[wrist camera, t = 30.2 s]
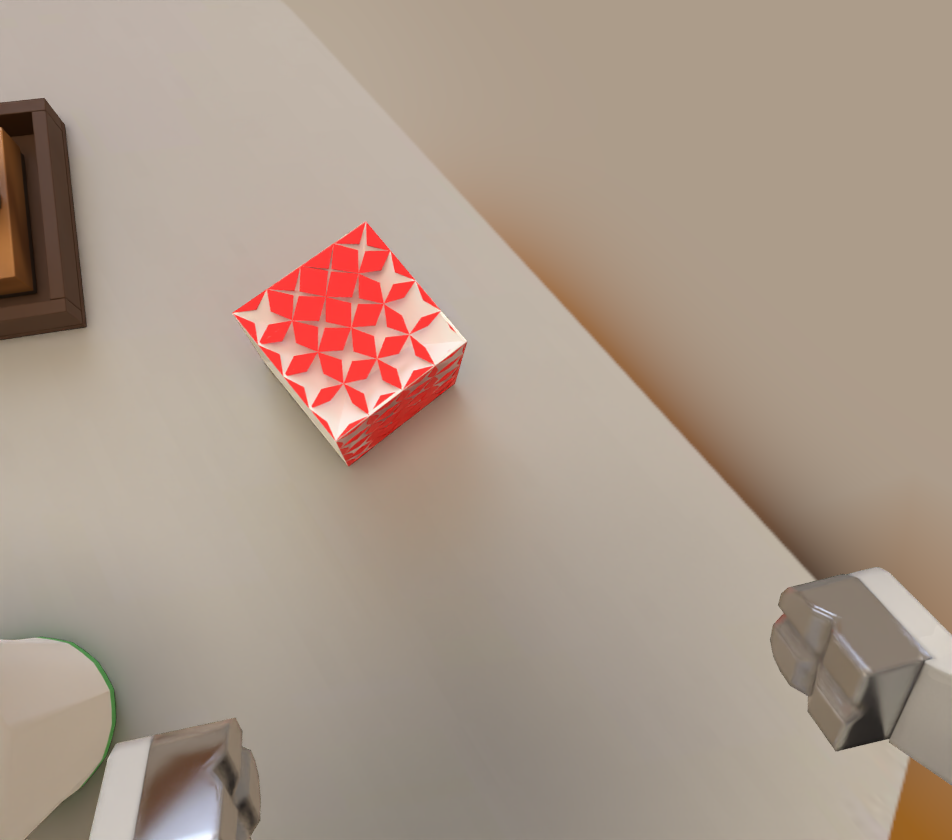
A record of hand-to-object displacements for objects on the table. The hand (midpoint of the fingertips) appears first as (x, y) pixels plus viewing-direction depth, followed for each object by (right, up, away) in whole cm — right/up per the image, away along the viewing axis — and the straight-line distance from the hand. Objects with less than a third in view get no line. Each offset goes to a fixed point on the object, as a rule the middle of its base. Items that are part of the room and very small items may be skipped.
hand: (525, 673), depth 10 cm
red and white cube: (-8, +6, +31) cm, 33 cm away
